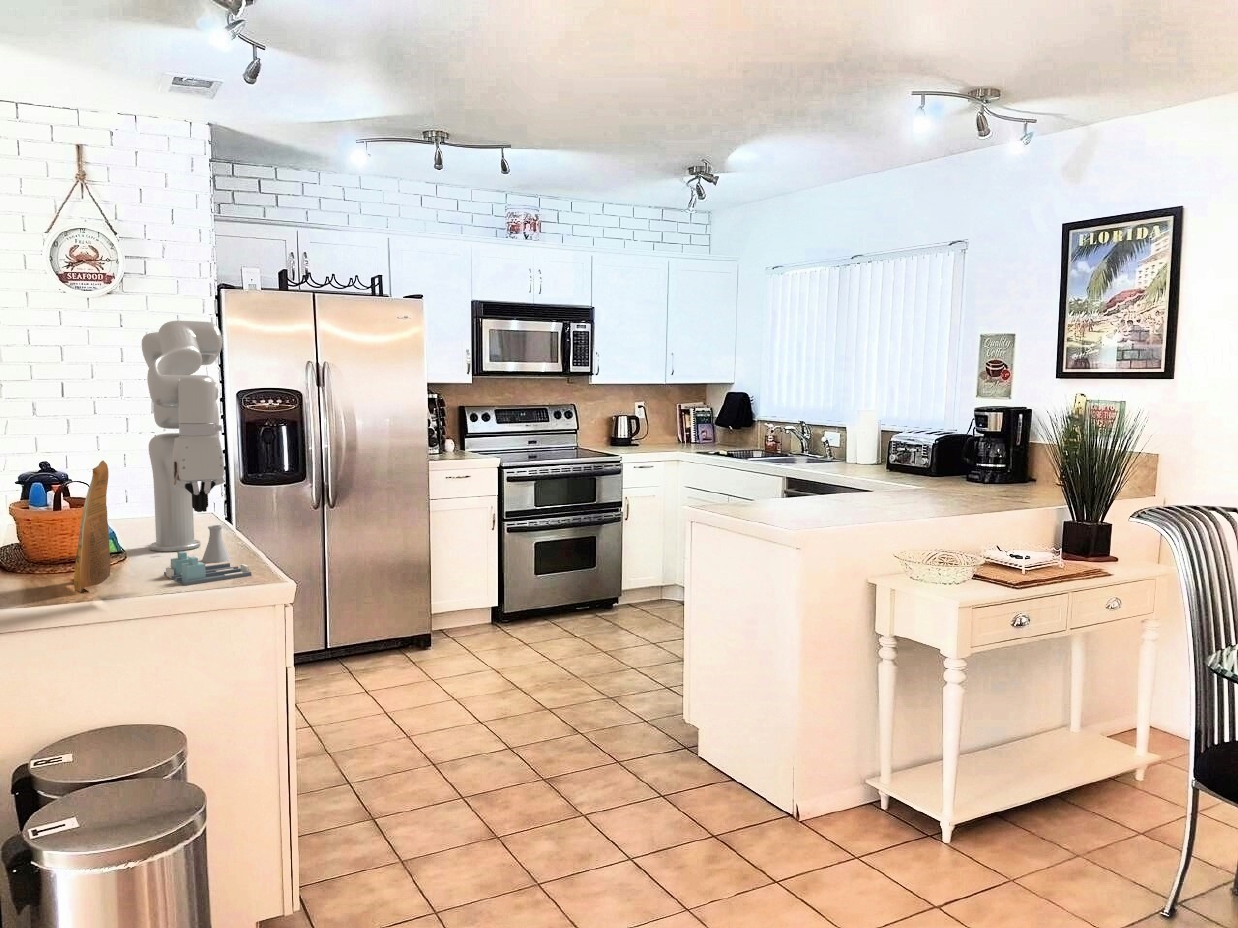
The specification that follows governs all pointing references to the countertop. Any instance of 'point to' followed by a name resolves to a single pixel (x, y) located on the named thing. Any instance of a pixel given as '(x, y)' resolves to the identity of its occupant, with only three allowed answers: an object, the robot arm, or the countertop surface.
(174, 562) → the tab
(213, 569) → the switch bank
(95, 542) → the pancake mix bag
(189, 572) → the tab
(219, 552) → the flask
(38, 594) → the countertop surface
